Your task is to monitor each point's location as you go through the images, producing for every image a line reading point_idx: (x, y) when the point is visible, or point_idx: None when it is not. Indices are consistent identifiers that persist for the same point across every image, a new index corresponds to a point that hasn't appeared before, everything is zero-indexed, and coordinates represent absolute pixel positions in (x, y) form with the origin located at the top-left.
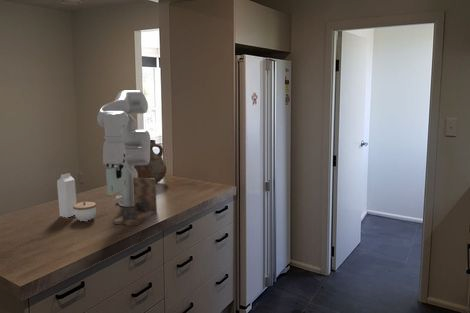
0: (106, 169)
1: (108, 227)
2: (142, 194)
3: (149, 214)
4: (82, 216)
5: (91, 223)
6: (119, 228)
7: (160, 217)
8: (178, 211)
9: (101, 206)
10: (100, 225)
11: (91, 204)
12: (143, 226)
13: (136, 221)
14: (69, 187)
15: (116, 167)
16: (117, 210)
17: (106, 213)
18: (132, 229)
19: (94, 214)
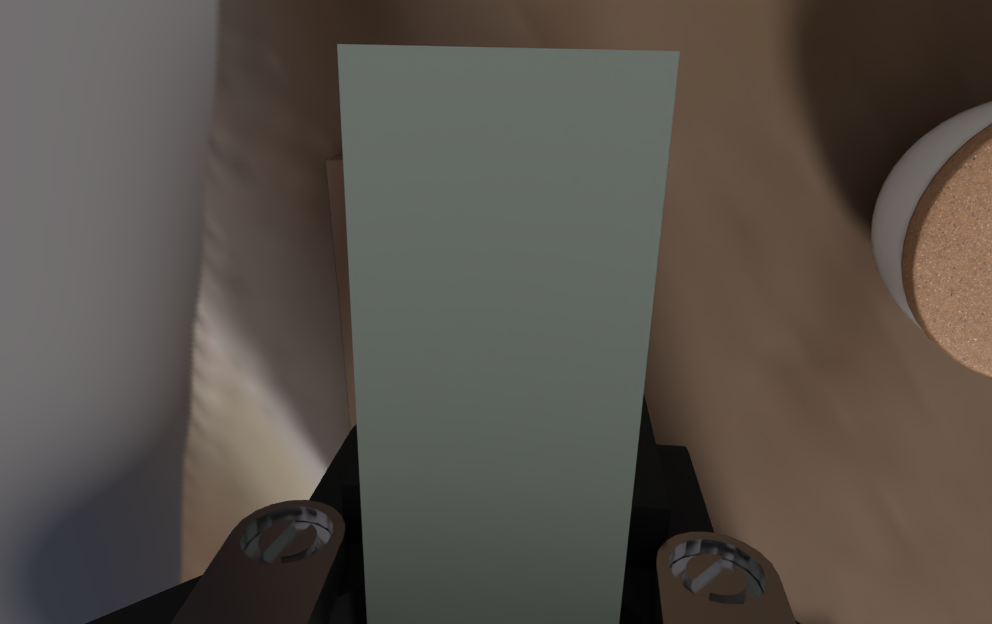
0: (630, 70)
1: (579, 34)
2: None
3: (351, 417)
4: (981, 104)
5: (829, 105)
6: (450, 36)
7: (257, 407)
8: (205, 564)
9: (963, 587)
10: (697, 70)
11: (967, 264)
12: (259, 152)
13: (341, 193)
14: None
15: (368, 610)
16: (744, 510)
17: (814, 417)
18: (308, 43)
19: (871, 233)
